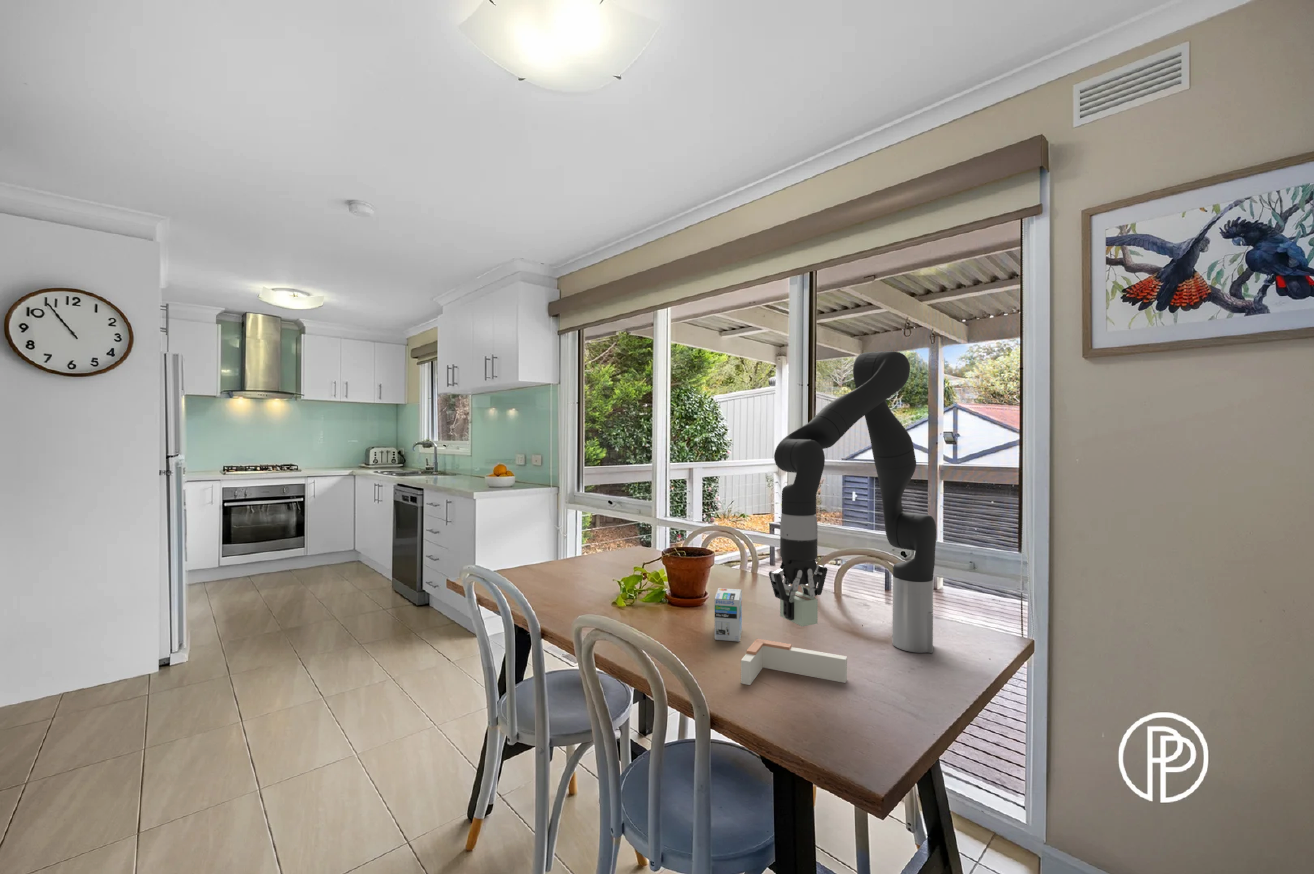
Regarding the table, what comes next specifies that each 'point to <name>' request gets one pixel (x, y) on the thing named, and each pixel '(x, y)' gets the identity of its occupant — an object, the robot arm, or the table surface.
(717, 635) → the light bulb box
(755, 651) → the corner wall
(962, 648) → the table surface
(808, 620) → the block
